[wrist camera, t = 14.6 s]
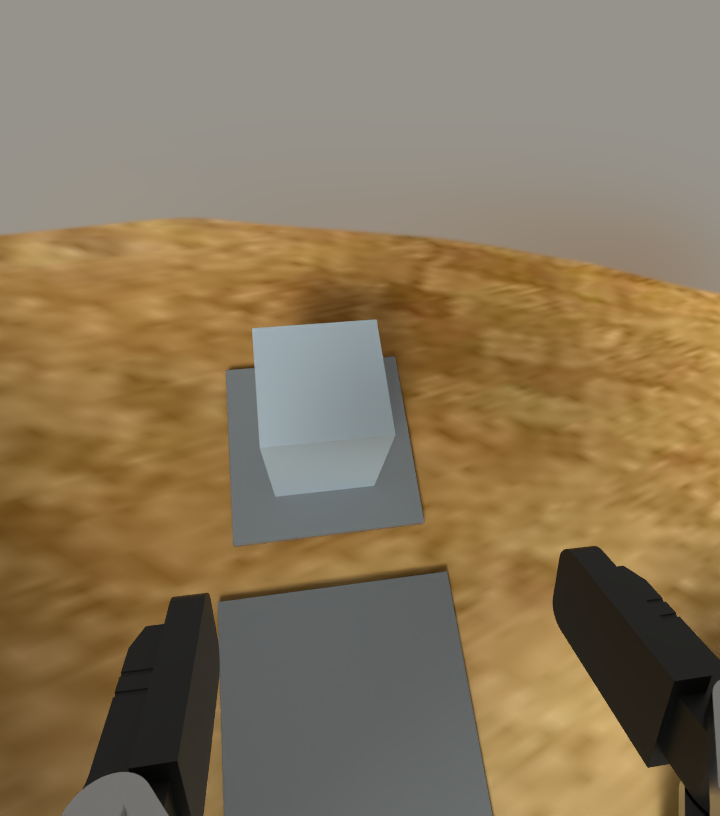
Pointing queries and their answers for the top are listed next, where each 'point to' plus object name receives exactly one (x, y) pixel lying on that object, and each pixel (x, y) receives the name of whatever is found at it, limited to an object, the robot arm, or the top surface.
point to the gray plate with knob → (319, 511)
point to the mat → (348, 703)
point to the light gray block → (322, 405)
